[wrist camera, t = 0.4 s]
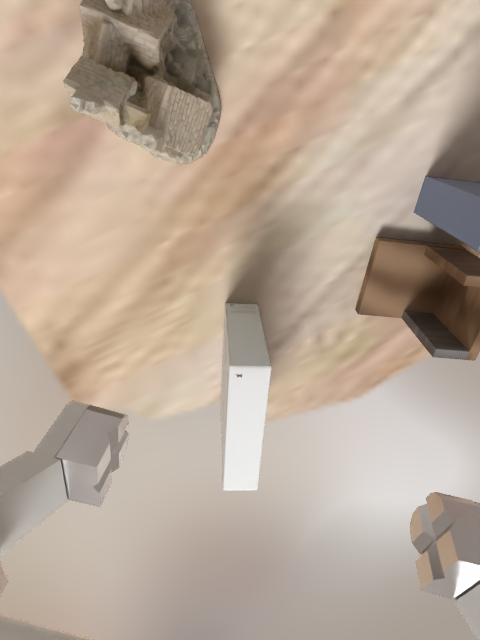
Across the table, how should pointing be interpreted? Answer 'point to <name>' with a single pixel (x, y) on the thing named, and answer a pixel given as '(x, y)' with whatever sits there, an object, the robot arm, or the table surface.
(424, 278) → the shelf
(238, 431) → the skincare box
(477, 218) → the tall blue pillar
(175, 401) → the table surface
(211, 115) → the grey rock
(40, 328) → the table surface
